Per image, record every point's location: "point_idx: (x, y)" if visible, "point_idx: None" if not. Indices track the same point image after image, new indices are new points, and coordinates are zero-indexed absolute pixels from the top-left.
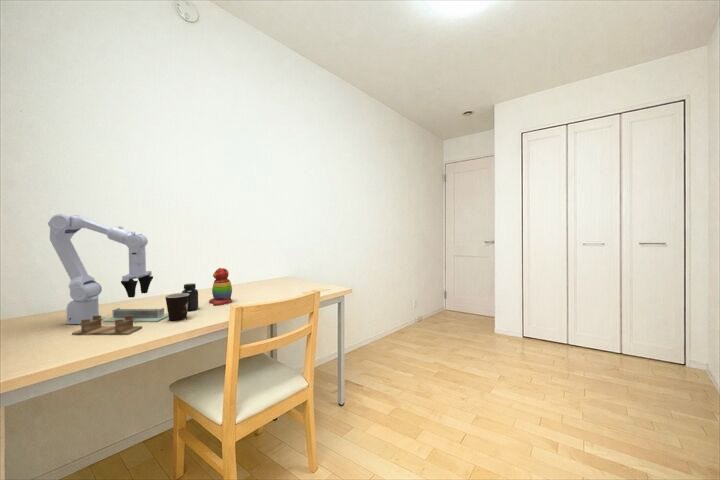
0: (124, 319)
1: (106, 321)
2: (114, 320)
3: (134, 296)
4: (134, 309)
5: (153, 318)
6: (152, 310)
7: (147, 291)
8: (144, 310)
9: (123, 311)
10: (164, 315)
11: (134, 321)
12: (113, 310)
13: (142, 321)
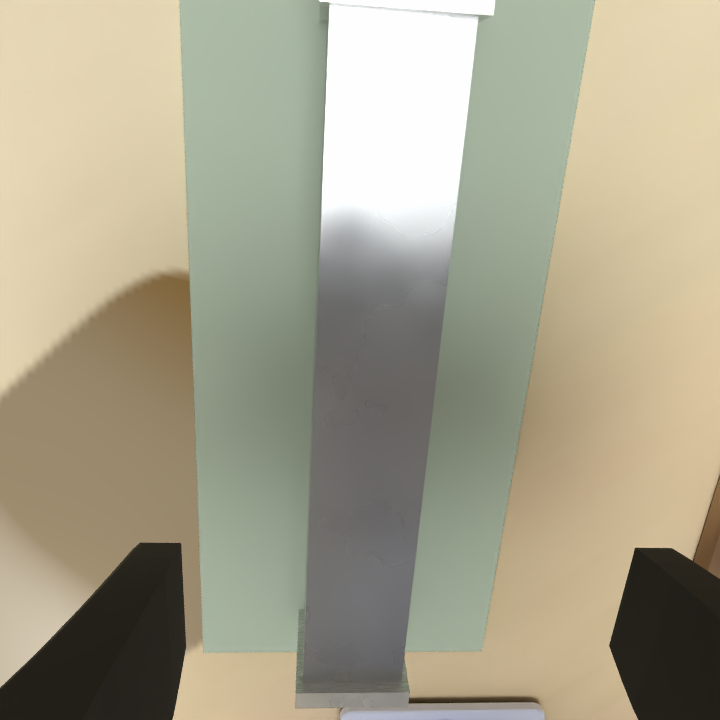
0: (461, 473)
1: (483, 613)
2: (490, 550)
3: (649, 554)
4: (334, 494)
5: None
6: (425, 156)
7: (130, 562)
8: (408, 305)
9: (412, 576)
10: (297, 3)
11: (537, 314)
12: (409, 692)
13: (555, 204)
